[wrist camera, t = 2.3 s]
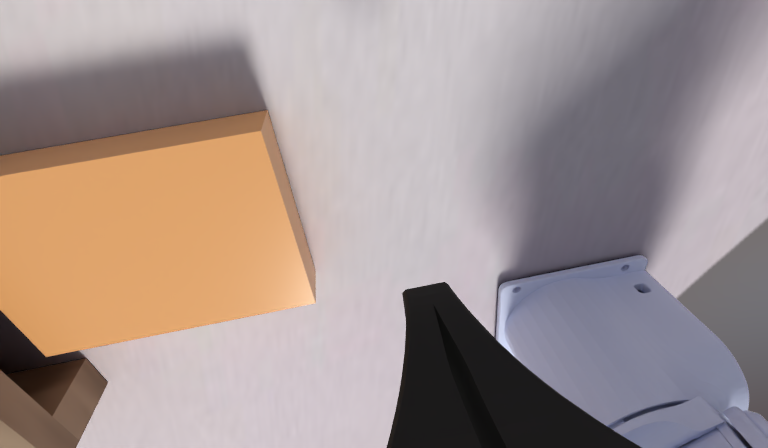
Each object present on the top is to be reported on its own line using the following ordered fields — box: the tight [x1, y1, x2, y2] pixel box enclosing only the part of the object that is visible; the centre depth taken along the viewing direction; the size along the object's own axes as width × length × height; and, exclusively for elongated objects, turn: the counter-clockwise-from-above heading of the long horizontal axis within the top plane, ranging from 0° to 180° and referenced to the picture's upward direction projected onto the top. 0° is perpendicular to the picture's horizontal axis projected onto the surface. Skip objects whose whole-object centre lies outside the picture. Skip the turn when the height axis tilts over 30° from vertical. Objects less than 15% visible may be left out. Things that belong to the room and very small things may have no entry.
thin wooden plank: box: [0, 110, 316, 357], centre depth 17 cm, size 13×9×2 cm
